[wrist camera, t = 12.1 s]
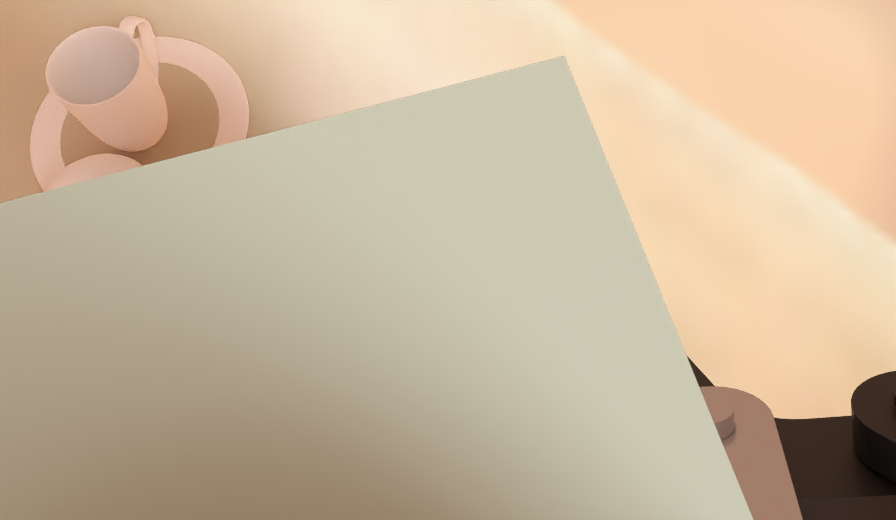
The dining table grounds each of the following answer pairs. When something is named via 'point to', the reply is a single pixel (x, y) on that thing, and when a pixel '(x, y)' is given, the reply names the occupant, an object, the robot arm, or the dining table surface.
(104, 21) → the dining table surface
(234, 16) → the dining table surface
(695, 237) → the dining table surface
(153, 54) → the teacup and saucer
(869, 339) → the dining table surface
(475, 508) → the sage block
